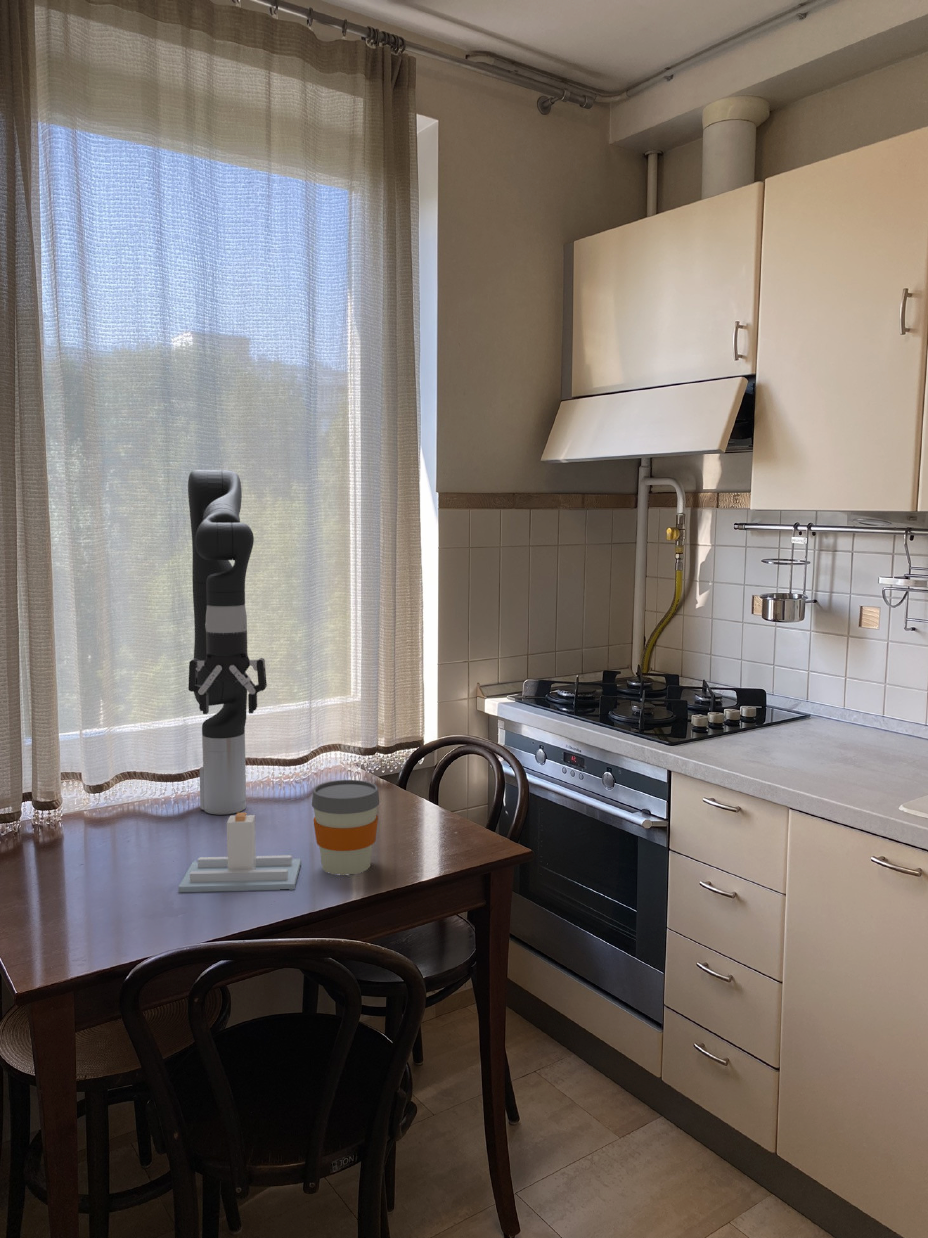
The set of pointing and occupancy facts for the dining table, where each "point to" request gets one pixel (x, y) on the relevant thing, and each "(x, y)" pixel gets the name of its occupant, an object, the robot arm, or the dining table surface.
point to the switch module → (241, 842)
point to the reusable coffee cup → (345, 824)
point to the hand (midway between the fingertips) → (228, 713)
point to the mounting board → (241, 875)
